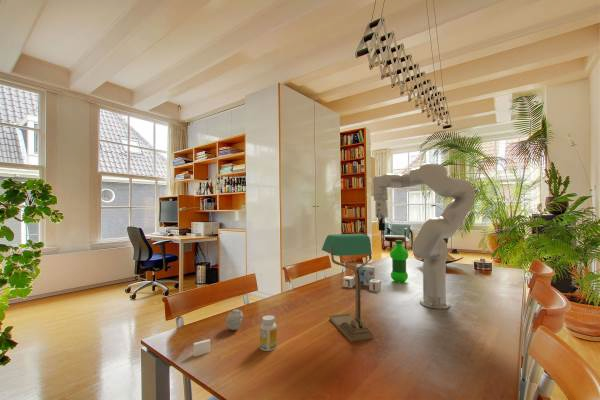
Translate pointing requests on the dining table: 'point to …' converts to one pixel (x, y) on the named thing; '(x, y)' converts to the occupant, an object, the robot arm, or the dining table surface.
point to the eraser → (202, 347)
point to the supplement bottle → (268, 333)
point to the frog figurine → (234, 319)
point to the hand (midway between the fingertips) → (381, 230)
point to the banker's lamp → (355, 246)
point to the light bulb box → (366, 273)
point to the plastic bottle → (399, 262)
